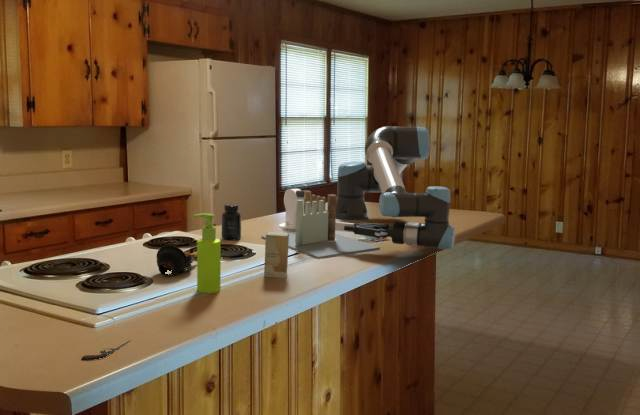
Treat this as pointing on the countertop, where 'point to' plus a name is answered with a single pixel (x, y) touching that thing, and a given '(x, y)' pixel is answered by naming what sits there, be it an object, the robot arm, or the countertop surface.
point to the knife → (92, 357)
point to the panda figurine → (291, 206)
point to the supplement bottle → (231, 222)
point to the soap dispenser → (208, 257)
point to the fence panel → (311, 223)
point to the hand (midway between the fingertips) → (336, 226)
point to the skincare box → (276, 254)
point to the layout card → (330, 246)
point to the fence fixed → (330, 209)
